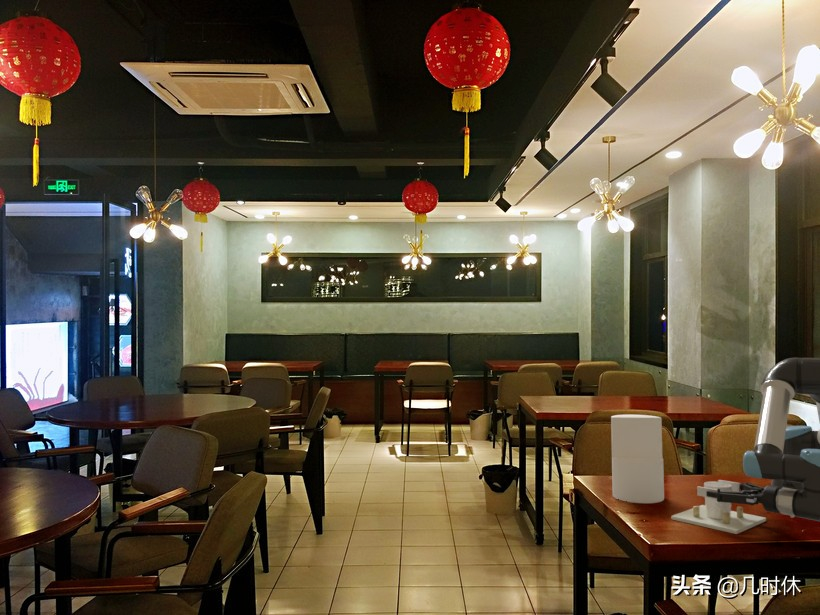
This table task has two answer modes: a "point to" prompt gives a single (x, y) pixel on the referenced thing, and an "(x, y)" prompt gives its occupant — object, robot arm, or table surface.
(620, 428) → the cylinder
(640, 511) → the table surface
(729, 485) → the white cup
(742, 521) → the standoff plate
